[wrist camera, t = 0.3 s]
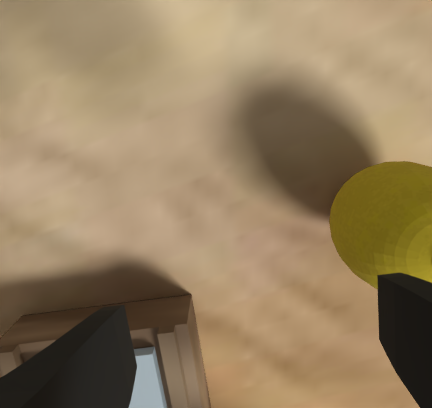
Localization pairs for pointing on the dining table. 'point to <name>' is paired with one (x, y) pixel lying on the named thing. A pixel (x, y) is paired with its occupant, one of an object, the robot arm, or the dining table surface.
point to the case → (141, 338)
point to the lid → (147, 381)
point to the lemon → (385, 221)
